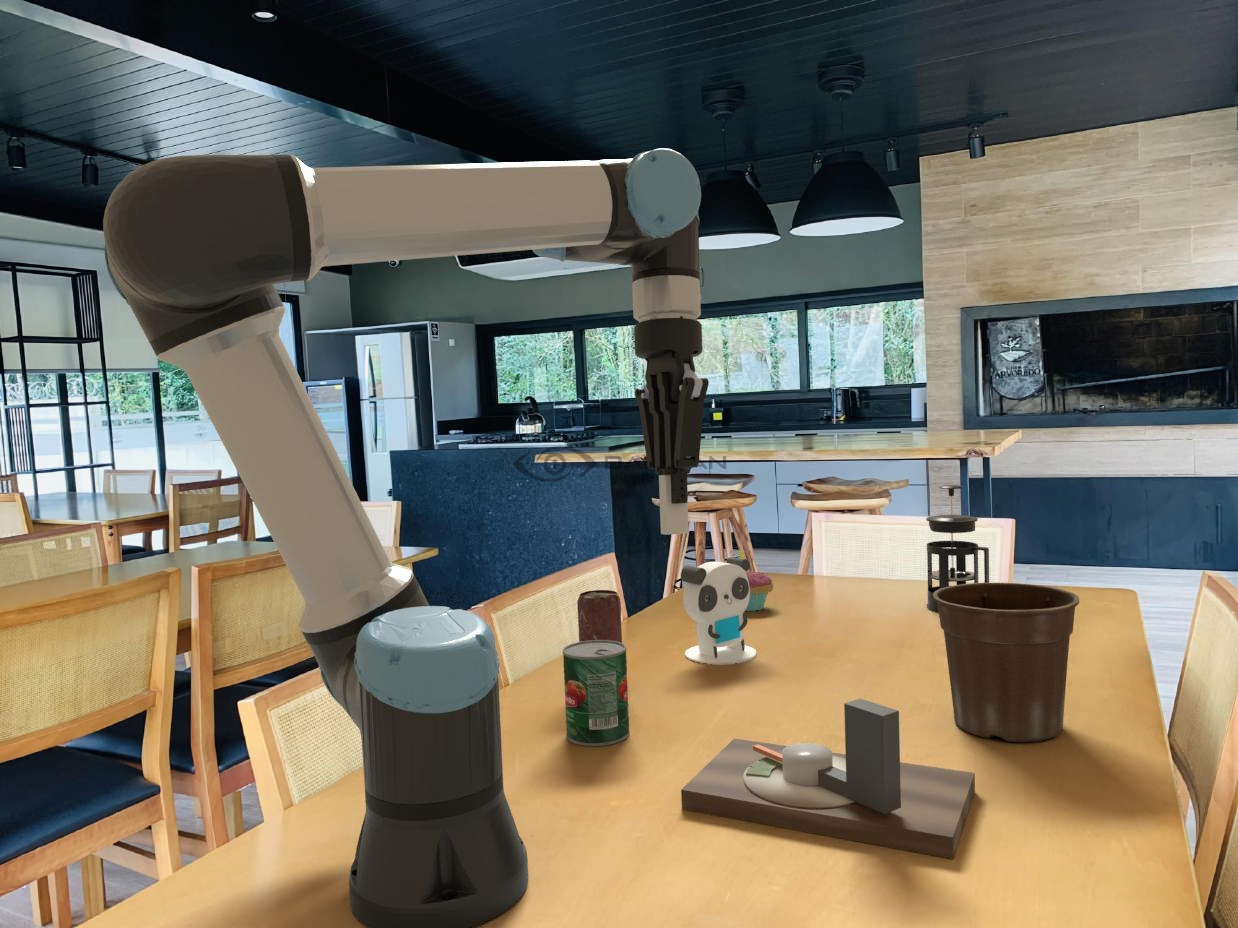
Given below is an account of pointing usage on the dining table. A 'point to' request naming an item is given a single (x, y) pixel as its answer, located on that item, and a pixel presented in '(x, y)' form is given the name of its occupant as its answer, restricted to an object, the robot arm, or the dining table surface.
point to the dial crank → (853, 758)
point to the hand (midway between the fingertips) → (674, 533)
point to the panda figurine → (718, 610)
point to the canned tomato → (596, 692)
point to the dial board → (834, 801)
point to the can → (599, 616)
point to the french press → (952, 551)
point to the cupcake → (757, 588)
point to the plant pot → (1007, 657)
